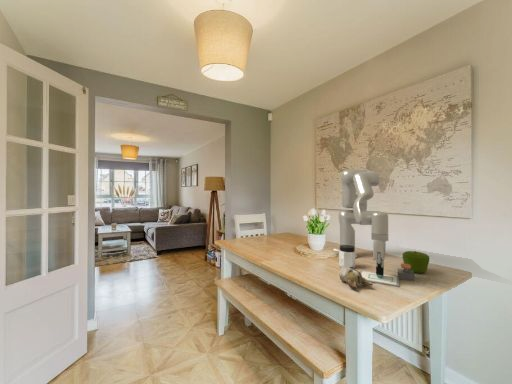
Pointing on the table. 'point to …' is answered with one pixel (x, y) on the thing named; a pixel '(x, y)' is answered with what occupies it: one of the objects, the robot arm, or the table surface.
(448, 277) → the table surface
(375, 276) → the white flat board
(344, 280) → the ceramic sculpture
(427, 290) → the table surface
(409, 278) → the button housing
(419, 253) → the apple
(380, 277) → the marker
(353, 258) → the jar
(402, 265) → the button
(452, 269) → the table surface
